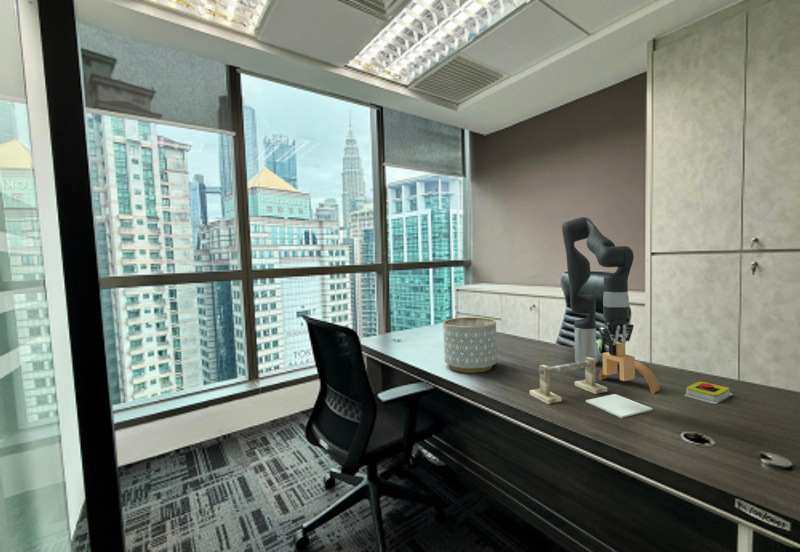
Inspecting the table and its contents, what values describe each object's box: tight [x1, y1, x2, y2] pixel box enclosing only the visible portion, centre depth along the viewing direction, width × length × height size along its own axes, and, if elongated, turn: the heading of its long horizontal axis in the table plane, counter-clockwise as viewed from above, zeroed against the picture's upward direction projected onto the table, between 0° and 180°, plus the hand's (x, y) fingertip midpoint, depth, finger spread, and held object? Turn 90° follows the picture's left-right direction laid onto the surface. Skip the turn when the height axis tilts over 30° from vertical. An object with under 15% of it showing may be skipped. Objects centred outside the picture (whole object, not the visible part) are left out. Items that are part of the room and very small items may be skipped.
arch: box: [598, 360, 661, 395], centre depth 140 cm, size 6×20×10 cm, turn 33°
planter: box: [442, 316, 498, 374], centre depth 172 cm, size 26×26×22 cm
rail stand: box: [529, 357, 608, 405], centre depth 134 cm, size 28×10×12 cm, turn 109°
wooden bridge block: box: [602, 341, 636, 382], centre depth 120 cm, size 5×8×12 cm, turn 19°
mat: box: [585, 393, 654, 419], centre depth 121 cm, size 14×14×1 cm
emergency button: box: [684, 381, 733, 405], centre depth 127 cm, size 9×4×15 cm
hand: (616, 354), depth 120 cm, fingers closed on wooden bridge block, 3 cm apart
